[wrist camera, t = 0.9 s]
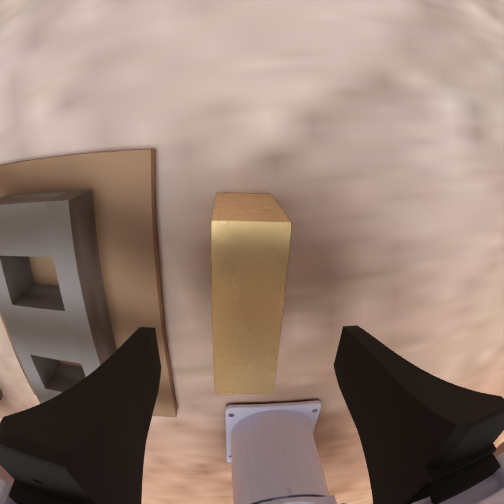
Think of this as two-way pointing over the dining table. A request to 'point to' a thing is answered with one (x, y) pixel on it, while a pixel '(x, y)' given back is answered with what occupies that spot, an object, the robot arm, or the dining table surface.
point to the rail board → (80, 265)
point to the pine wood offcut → (247, 290)
